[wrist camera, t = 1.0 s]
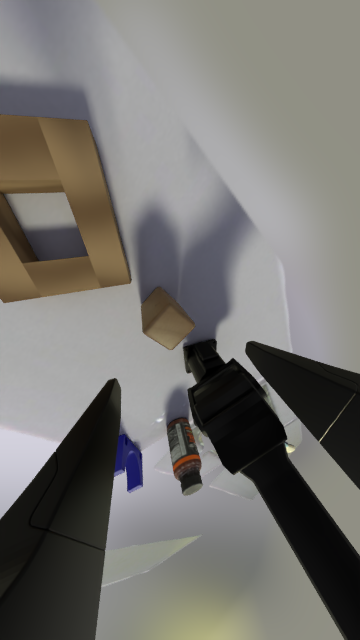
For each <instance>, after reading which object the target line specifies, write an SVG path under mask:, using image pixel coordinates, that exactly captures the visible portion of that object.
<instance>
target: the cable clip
mask: <svg viewBox="0 0 360 640" xmlns="http://www.w3.org/2000/svg"><path fill="white" fill-rule="evenodd" d="M125 467H126V472H127V491H128V492H129V493H131V492H133V491H135V490H137V489H139V488H141V487H143V475H142V453H141V452H140V451H139V450H138V449H137V448H136V447H135V446H134V444H133V443H132V442H131V441H130V440H129V439H128V438H127V436H126V435H125V434H123V435H121V436H119V438H118V446H117V455H116V463H115V472H114V477H115V476H117V475H119V474H121V473H124V472H125Z"/></svg>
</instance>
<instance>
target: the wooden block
mask: <svg viewBox="0 0 360 640" xmlns="http://www.w3.org/2000/svg"><path fill="white" fill-rule="evenodd" d="M141 314H142V329H143V333H144V334H145V335H147V336H148V337H150V338H151V339H153V340H155V341H156V342H158V343H159V344H161V345H162V346H164V347H166V348H167V349H169V350H173V349H174V348H175V347H176V346H177V345H178V344H179V343H180V342H181V341H182V340H183V339H184V338H185V337H186V336H187V335H188V334H189V333H190V332H191V331H192V330H193V329H194V327H195V324H194V322H193V321H192V319H191V318H190V317H189V316H188V315H187V313H186V312H185V311H184V310H183V309H182V307H181V306H180V305H179V304H178V303H177V302H176V301H175V300H174V299H173V298H172V297H171V296H170V295H169V294H168V293H166V292H165V291H164V290H163V289H162V288H161V287H157V288H156V289H155V290H154V291H153V292H152V293H151V295H150V296H149V297H148V298H147V299H146V300H145V301H144V303H143V304H142V305H141Z"/></svg>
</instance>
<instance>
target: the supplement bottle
mask: <svg viewBox="0 0 360 640" xmlns="http://www.w3.org/2000/svg"><path fill="white" fill-rule="evenodd" d="M167 435H168V441H169V447H170V453H171V459H172V466H173V471H174V476H175V478H176V479H177V480H179V481H180V482H181V488H182V493H183V495H184V496H187V495H191V494H193V493H195V492H197V491H198V490H199V489H201V487H202V485H203V484H202V480H201V476H200V470H201V466H202V465H201V460H200V456H199V453H198V450H197V446H196V443H195V440H194V437H193V433H192V430H191V427H190V424H189V421H188V420H187V419H184V418H180V419H177V420H174V421H172V422H171V423H170V424H169V425H168V427H167Z"/></svg>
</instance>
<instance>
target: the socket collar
mask: <svg viewBox="0 0 360 640" xmlns="http://www.w3.org/2000/svg"><path fill="white" fill-rule="evenodd" d="M54 192H65V193H66V196H67V199H68V201H69V204H70V207H71V209H72V212H73V215H74V217H75V220H76V223H77V226H78V228H79V231H80V234H81V236H82V239H83V242H84V244H85V247H86V250H87V252H88V255H89V256H85V257H76V258H67V259H58V260H49V261H40V262H39V261H38V259H37V257H36V255H35V253H34V251H33V250H32V248H31V246H30V244H29V242H28V240H27V238H26V236H25V235H24V233H23V231H22V229H21V227H20V225H19V223H18V222H17V220H16V218H15V216H14V214H13V212H12V210H11V208H10V207H9V205H8V203H7V201H6V199H5V197H4V195H3V194H13V193H54ZM131 280H132V279H131V276H130V272H129V268H128V264H127V260H126V257H125V253H124V249H123V245H122V241H121V237H120V234H119V230H118V226H117V222H116V218H115V214H114V211H113V207H112V203H111V199H110V195H109V192H108V188H107V184H106V180H105V176H104V172H103V169H102V165H101V161H100V157H99V153H98V149H97V146H96V143H95V140H94V137H93V135H92V132H91V129H90V127H89V124H88V121H87V120H73V119H59V118H44V117H30V116H16V115H1V114H0V299H1V300H2V301H3V303H8V302H14V301H21V300H27V299H34V298H40V297H46V296H53V295H59V294H66V293H72V292H79V291H85V290H91V289H98V288H104V287H111V286H117V285H124V284H130V283H131Z"/></svg>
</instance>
